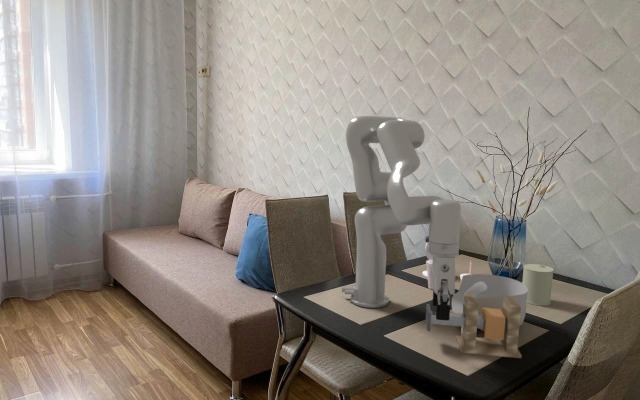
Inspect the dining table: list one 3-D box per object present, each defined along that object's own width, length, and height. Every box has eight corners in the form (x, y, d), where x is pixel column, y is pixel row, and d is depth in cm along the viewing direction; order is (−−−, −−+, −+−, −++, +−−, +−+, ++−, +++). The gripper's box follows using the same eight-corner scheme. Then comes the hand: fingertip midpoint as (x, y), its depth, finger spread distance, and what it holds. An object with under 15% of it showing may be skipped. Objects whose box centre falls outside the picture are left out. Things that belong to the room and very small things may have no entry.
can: (554, 300, 150) (557, 266, 148) (545, 308, 143) (549, 272, 141) (525, 293, 156) (528, 260, 154) (516, 300, 149) (519, 266, 148)
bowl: (533, 340, 121) (537, 298, 119) (460, 334, 123) (463, 293, 122) (512, 311, 140) (516, 275, 138) (450, 306, 143) (452, 271, 141)
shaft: (427, 330, 114) (428, 312, 113) (425, 321, 120) (426, 303, 119) (518, 339, 111) (520, 320, 110) (512, 328, 116) (514, 310, 116)
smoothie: (444, 291, 157) (447, 252, 154) (426, 290, 157) (428, 252, 155) (440, 285, 163) (442, 248, 161) (422, 284, 163) (425, 247, 161)
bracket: (460, 352, 112) (464, 303, 111) (456, 338, 120) (459, 292, 118) (521, 358, 110) (526, 308, 108) (512, 343, 118) (517, 296, 116)
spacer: (484, 338, 112) (486, 316, 111) (480, 328, 118) (482, 307, 117) (503, 340, 111) (505, 317, 111) (498, 330, 117) (500, 309, 116)
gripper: (464, 257, 104) (460, 327, 106) (454, 241, 121) (451, 302, 123) (431, 255, 105) (428, 324, 108) (426, 240, 122) (423, 300, 124)
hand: (440, 312), depth 115 cm, fingers open, 9 cm apart
